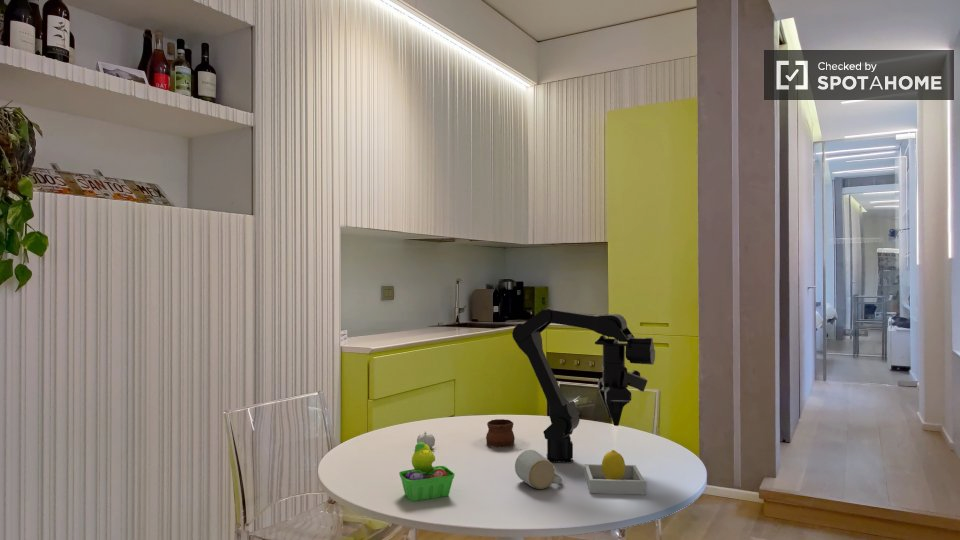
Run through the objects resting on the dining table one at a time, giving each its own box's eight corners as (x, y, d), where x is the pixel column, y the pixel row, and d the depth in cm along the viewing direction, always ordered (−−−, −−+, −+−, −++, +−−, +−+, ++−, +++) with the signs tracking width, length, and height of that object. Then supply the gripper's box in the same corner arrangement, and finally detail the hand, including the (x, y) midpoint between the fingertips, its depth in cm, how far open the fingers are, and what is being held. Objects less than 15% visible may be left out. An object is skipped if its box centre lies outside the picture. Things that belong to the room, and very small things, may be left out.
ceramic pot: (542, 446, 185) (541, 422, 185) (494, 457, 175) (494, 431, 175) (504, 435, 200) (504, 412, 200) (458, 444, 189) (458, 421, 189)
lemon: (625, 487, 147) (625, 453, 147) (601, 486, 148) (601, 452, 148) (625, 480, 153) (624, 447, 153) (601, 479, 154) (601, 446, 154)
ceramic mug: (529, 492, 145) (530, 459, 145) (513, 482, 152) (514, 450, 152) (569, 487, 149) (569, 455, 149) (551, 477, 156) (552, 446, 156)
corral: (589, 493, 144) (589, 480, 145) (584, 475, 157) (584, 463, 157) (645, 494, 144) (645, 481, 144) (635, 477, 156) (635, 465, 156)
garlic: (429, 452, 178) (429, 433, 178) (412, 450, 180) (412, 432, 180) (438, 447, 184) (438, 429, 184) (422, 445, 186) (422, 427, 186)
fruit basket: (407, 504, 137) (407, 452, 137) (396, 491, 145) (396, 442, 145) (455, 497, 142) (456, 447, 142) (442, 485, 150) (442, 438, 150)
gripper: (652, 367, 155) (652, 430, 154) (638, 358, 173) (638, 414, 173) (606, 367, 155) (606, 430, 155) (597, 357, 174) (597, 413, 174)
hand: (613, 421), depth 164 cm, fingers open, 9 cm apart
